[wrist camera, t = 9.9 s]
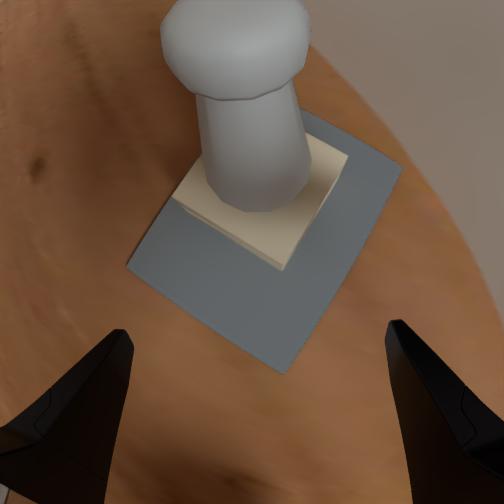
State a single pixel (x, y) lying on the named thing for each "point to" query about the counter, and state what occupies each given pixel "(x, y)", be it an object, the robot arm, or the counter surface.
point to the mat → (261, 272)
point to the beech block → (265, 223)
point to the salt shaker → (244, 94)
